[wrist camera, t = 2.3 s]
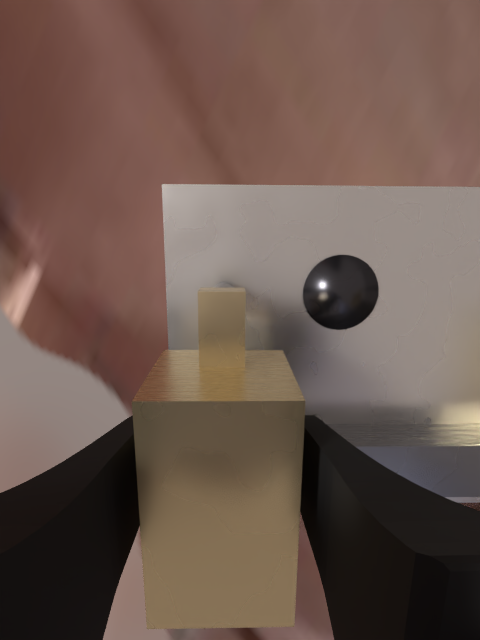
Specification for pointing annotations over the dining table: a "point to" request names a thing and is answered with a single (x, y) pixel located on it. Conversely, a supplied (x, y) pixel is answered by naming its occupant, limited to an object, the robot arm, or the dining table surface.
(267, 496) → the leg
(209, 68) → the dining table surface
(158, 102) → the dining table surface
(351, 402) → the plate
